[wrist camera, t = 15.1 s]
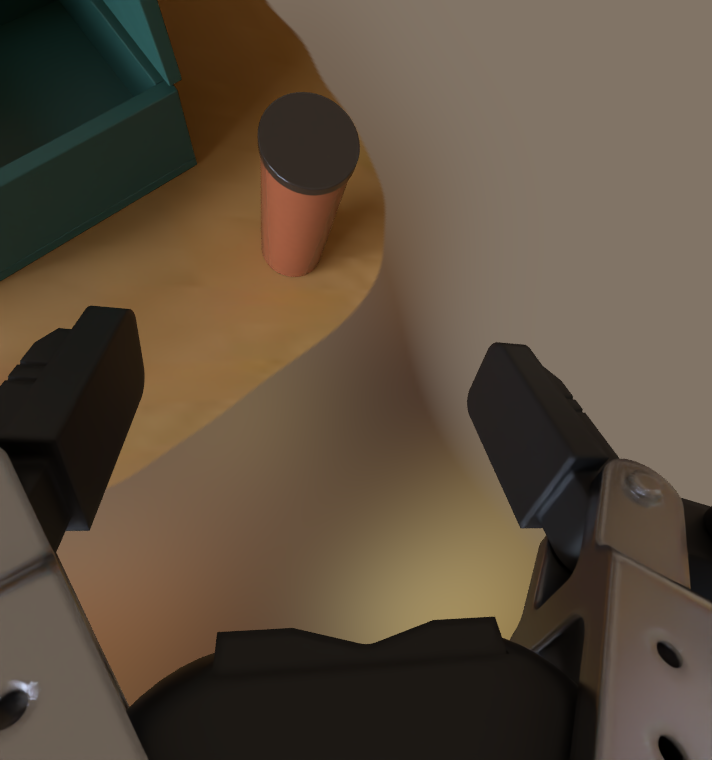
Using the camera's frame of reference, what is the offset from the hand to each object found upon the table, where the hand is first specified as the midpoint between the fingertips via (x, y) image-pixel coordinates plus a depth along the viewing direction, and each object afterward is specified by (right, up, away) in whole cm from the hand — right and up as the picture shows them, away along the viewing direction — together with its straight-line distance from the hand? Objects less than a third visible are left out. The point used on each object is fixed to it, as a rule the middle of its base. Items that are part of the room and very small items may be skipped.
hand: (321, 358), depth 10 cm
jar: (-4, +9, +20) cm, 22 cm away
